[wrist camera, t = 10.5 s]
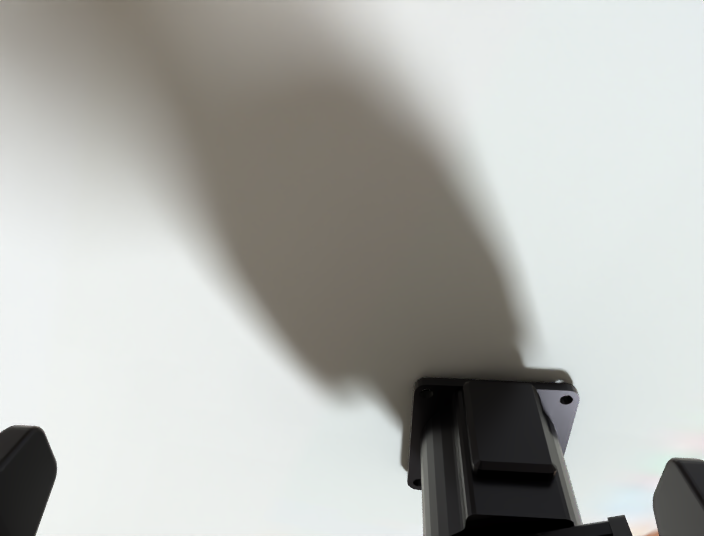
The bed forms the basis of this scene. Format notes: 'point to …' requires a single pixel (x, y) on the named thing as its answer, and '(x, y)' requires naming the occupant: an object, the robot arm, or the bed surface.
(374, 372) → the bed surface
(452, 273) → the bed surface
